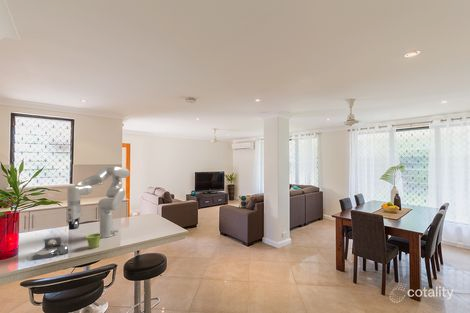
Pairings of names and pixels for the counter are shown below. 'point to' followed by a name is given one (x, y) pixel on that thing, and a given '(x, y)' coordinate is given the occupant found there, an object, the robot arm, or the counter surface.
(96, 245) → the plant pot
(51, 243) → the scale
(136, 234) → the counter surface
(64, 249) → the spacer
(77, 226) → the spacer
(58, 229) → the counter surface
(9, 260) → the counter surface
